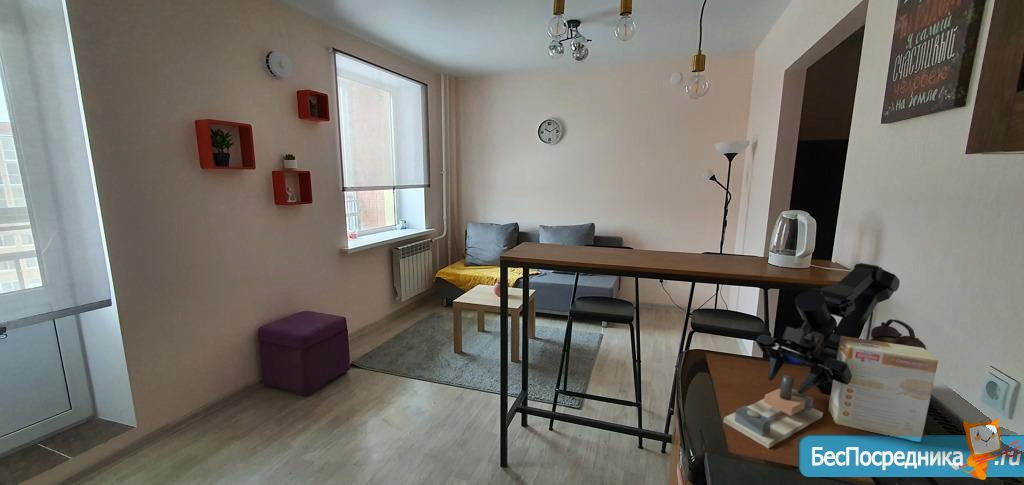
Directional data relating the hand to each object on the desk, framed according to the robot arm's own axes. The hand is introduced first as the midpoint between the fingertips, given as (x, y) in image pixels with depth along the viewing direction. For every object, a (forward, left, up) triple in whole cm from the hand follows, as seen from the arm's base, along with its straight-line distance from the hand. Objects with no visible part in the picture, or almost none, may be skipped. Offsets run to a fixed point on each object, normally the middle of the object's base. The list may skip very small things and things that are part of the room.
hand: (783, 386), depth 93 cm
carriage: (-1, -1, -5) cm, 5 cm away
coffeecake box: (-19, -4, -8) cm, 21 cm away
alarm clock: (-30, -23, -8) cm, 39 cm away
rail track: (+2, +2, -8) cm, 8 cm away
